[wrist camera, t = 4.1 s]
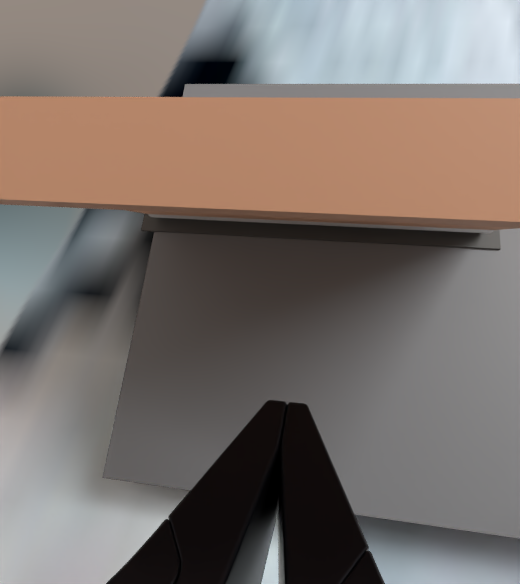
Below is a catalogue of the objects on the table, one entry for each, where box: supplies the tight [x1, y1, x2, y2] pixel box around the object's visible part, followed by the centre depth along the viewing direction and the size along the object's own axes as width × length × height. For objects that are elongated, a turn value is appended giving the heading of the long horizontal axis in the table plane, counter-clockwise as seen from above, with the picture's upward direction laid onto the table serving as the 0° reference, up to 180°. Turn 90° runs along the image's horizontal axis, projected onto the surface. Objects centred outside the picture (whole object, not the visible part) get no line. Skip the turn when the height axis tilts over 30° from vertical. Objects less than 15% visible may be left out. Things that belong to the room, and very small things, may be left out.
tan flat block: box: [0, 97, 520, 233], centre depth 11 cm, size 2×12×9 cm, turn 83°
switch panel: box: [103, 84, 520, 539], centre depth 15 cm, size 16×22×3 cm
